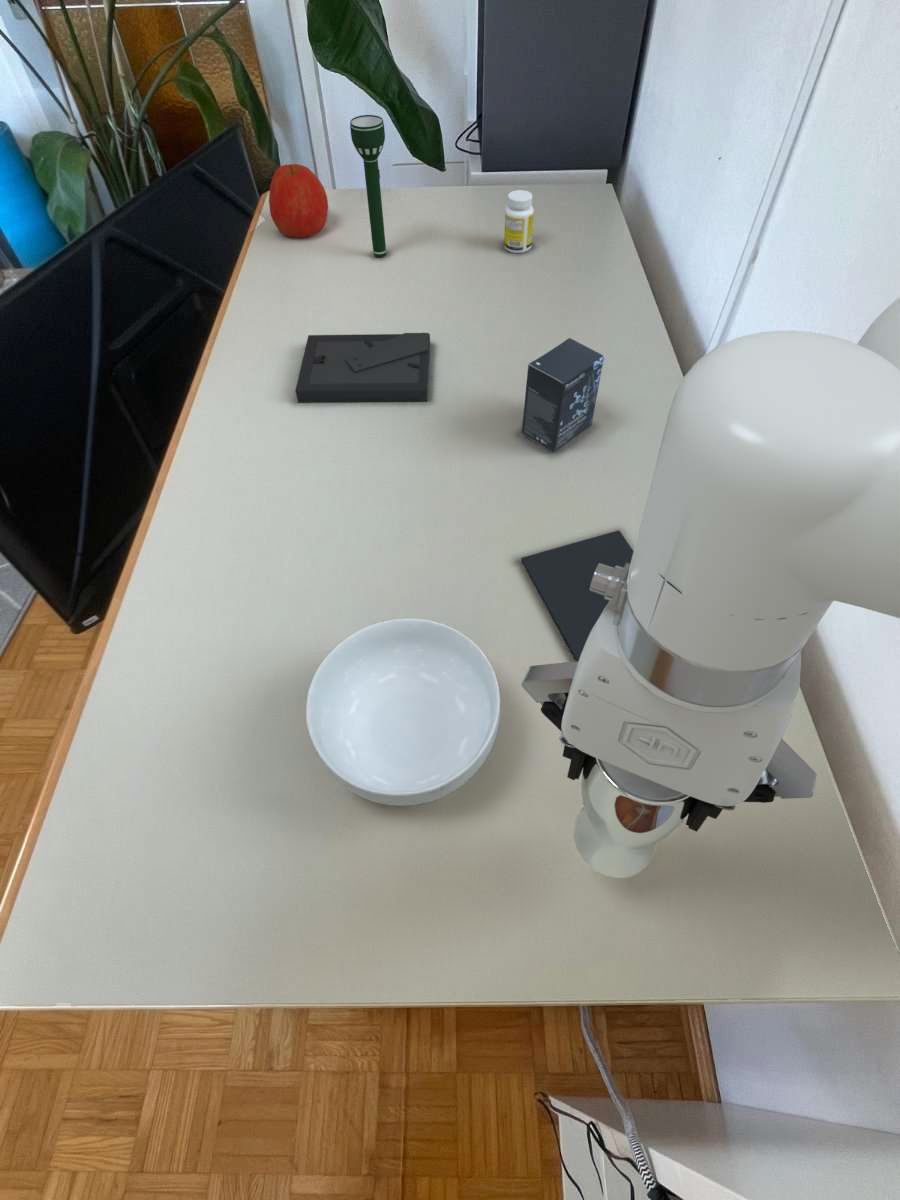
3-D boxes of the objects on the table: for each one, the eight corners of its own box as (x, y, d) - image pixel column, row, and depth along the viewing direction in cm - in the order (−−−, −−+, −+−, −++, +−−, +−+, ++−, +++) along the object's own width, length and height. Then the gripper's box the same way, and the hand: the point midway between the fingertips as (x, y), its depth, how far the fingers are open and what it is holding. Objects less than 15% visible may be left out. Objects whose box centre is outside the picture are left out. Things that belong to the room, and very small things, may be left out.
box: (554, 455, 88) (563, 383, 79) (520, 434, 90) (526, 362, 82) (593, 426, 91) (606, 354, 82) (559, 407, 93) (569, 335, 85)
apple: (332, 215, 129) (323, 151, 121) (329, 241, 123) (319, 177, 115) (277, 217, 129) (264, 154, 121) (271, 244, 123) (257, 179, 114)
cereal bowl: (322, 664, 69) (309, 623, 64) (487, 652, 70) (489, 610, 64) (314, 833, 59) (298, 802, 54) (508, 817, 60) (513, 785, 54)
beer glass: (548, 840, 52) (566, 754, 41) (602, 775, 55) (634, 677, 44) (626, 906, 49) (670, 833, 38) (679, 833, 52) (735, 745, 40)
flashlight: (401, 254, 120) (390, 119, 104) (380, 265, 117) (366, 130, 101) (379, 245, 122) (366, 112, 106) (359, 256, 119) (342, 122, 103)
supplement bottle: (523, 238, 122) (526, 186, 115) (536, 250, 119) (540, 197, 113) (499, 244, 121) (500, 192, 114) (511, 256, 118) (513, 203, 112)
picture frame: (430, 345, 103) (310, 346, 103) (429, 331, 101) (307, 332, 101) (427, 401, 95) (297, 402, 95) (426, 387, 93) (294, 388, 93)
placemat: (714, 675, 68) (716, 672, 67) (603, 712, 66) (604, 709, 65) (618, 533, 79) (619, 529, 79) (521, 561, 77) (521, 557, 77)
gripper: (489, 618, 31) (488, 780, 45) (919, 774, 26) (765, 901, 40) (550, 508, 35) (531, 688, 49) (932, 623, 30) (788, 787, 44)
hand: (637, 782), depth 44 cm, fingers closed on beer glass, 7 cm apart
